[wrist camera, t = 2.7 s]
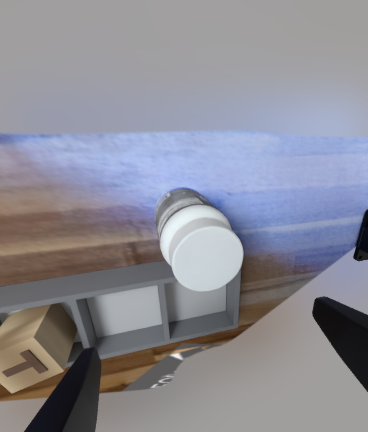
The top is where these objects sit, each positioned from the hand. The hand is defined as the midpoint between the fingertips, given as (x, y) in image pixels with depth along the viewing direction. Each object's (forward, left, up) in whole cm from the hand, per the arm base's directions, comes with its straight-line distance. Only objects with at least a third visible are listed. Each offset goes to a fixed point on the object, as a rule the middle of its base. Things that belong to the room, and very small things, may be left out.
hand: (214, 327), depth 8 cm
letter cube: (+12, +8, -11) cm, 18 cm away
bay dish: (+5, +8, -11) cm, 15 cm away
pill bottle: (-1, -1, -12) cm, 12 cm away
